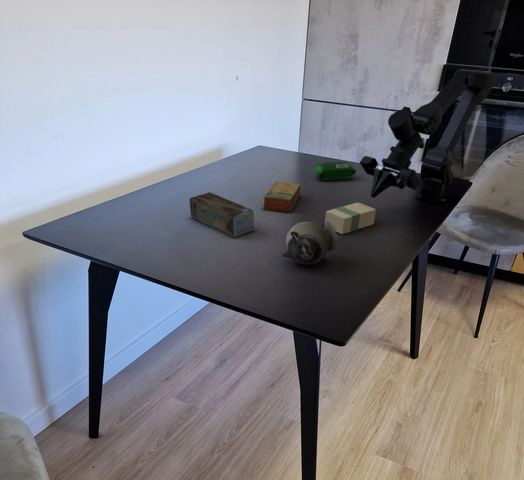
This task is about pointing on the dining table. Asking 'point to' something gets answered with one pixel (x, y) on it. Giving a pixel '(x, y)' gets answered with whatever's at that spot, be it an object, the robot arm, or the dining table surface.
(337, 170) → the snack package
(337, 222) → the tea box
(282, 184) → the carton
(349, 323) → the dining table surface
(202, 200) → the beverage carton
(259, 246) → the dining table surface
